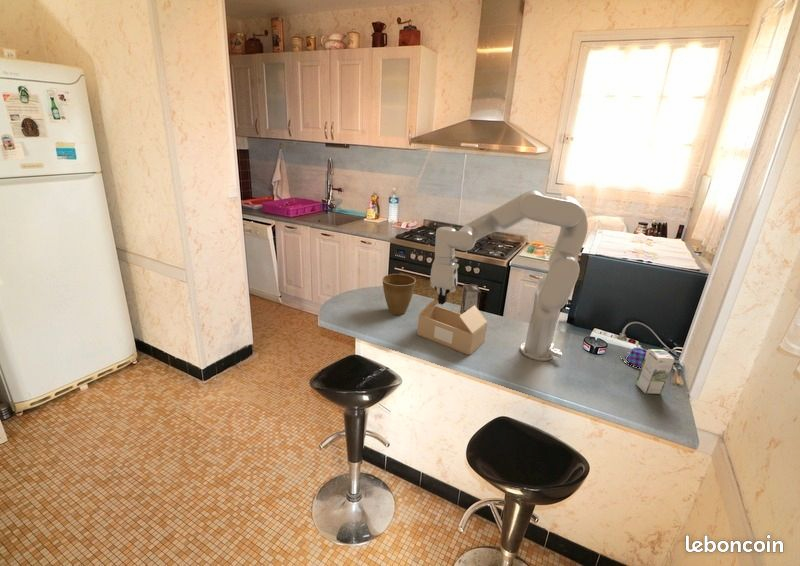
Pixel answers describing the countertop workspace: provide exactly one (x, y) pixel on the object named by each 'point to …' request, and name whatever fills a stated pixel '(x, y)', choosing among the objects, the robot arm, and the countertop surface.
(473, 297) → the coffee box
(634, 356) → the purple plaid hat
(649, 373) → the syrup box
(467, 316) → the near flap
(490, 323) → the countertop surface
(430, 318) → the carton
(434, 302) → the far flap
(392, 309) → the plant pot
